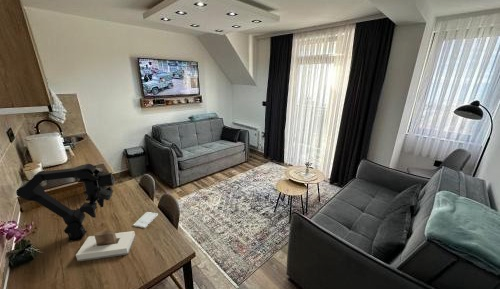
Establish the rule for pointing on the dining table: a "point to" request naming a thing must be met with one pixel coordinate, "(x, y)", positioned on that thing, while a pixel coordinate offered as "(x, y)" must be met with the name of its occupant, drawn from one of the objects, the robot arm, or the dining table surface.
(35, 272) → the dining table surface
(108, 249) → the slotted board
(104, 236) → the walnut plate
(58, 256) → the dining table surface
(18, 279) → the dining table surface
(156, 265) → the dining table surface
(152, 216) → the external hard drive
